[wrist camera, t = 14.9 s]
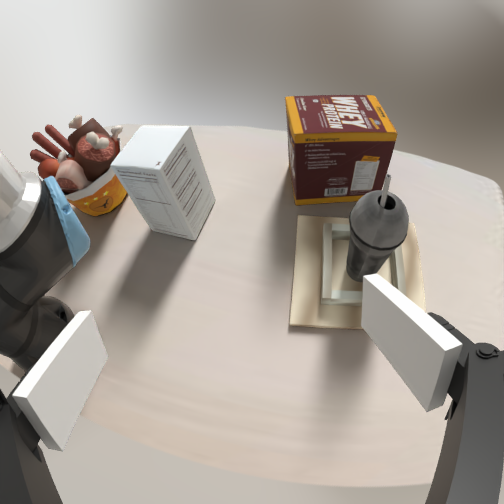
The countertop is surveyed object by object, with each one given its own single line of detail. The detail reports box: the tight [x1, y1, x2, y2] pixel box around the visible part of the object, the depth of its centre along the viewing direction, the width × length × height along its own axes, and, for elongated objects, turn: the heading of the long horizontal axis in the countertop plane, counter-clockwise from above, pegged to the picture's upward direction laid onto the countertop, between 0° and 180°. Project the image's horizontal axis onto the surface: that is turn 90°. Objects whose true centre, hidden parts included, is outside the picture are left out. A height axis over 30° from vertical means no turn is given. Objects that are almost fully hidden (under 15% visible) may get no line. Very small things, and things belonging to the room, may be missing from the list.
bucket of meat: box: [30, 115, 127, 216], centre depth 50 cm, size 20×16×20 cm
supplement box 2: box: [285, 95, 397, 205], centre depth 47 cm, size 10×15×16 cm
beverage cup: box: [346, 174, 409, 282], centre depth 34 cm, size 7×7×20 cm
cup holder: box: [290, 215, 426, 329], centre depth 42 cm, size 20×18×4 cm
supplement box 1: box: [110, 126, 215, 240], centre depth 46 cm, size 10×9×17 cm
